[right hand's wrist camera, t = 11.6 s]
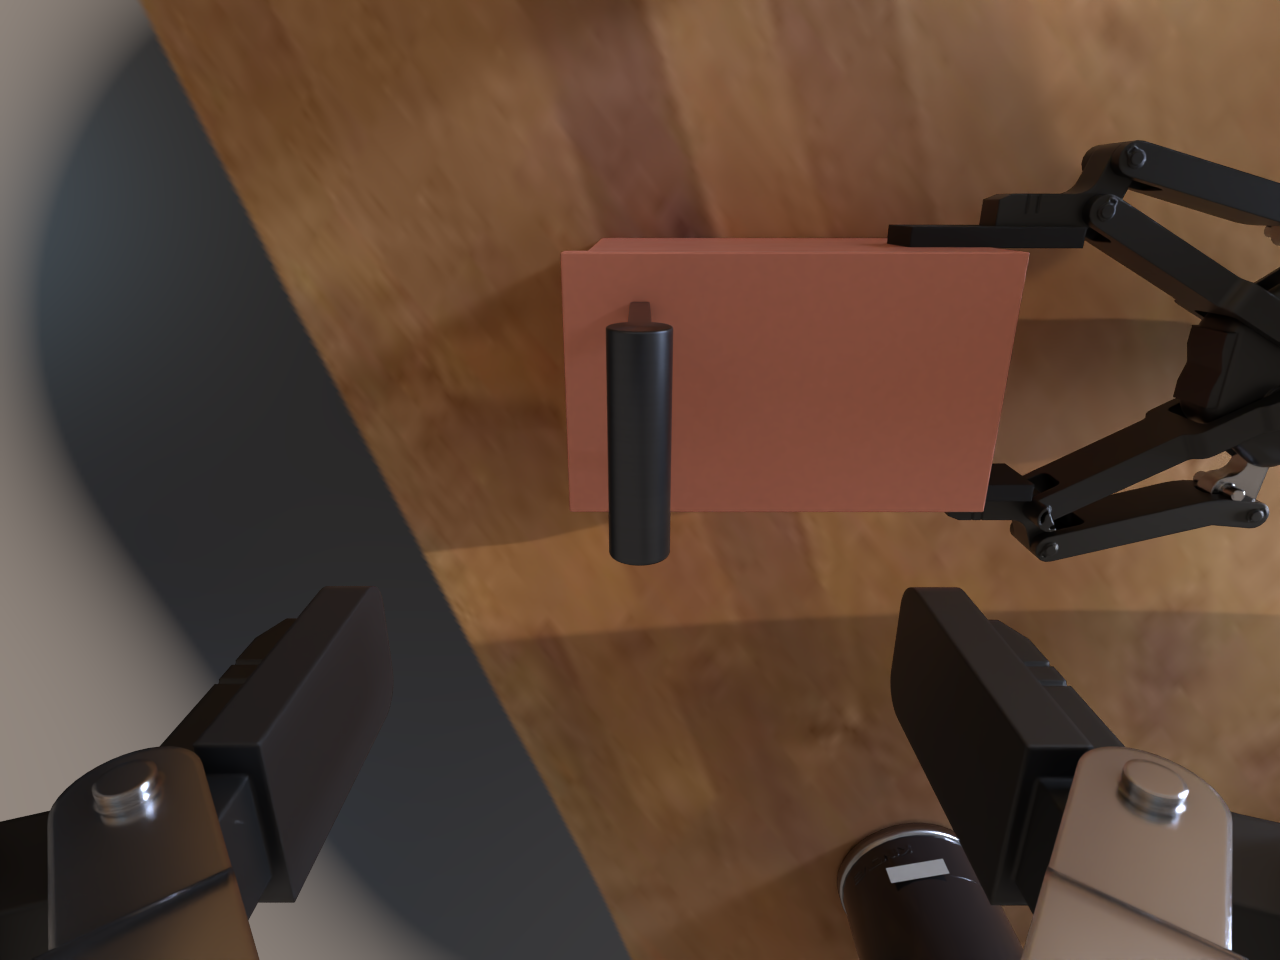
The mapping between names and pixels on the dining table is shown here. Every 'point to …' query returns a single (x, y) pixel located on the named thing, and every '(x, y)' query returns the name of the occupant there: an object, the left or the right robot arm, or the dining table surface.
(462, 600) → the dining table surface
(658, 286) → the lid
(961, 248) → the chest
